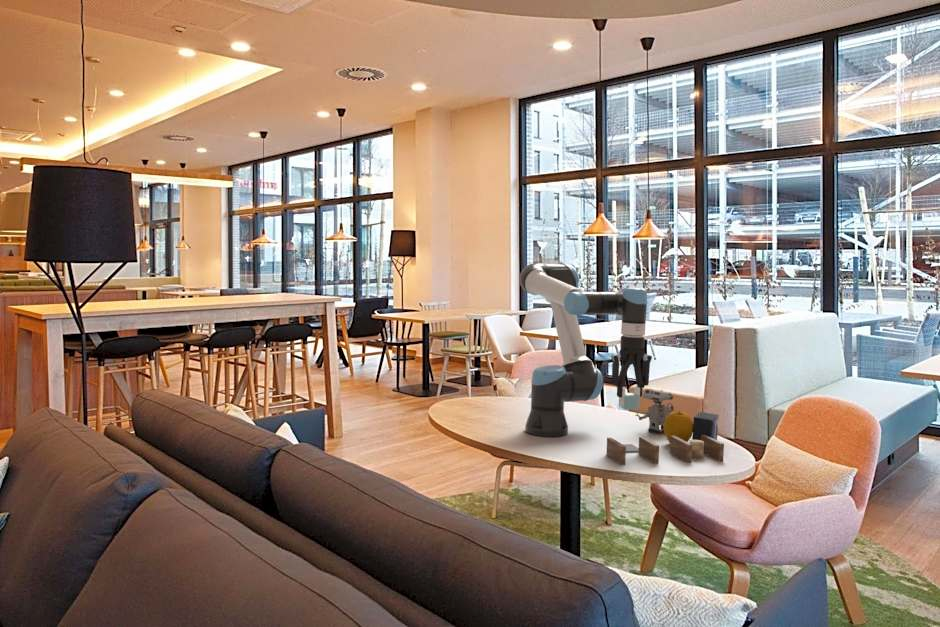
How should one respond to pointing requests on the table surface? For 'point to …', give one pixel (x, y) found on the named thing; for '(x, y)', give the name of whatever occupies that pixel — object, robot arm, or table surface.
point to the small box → (705, 425)
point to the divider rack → (676, 448)
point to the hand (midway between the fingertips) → (628, 406)
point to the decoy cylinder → (697, 448)
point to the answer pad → (631, 448)
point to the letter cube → (631, 401)
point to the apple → (678, 426)
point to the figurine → (657, 409)
